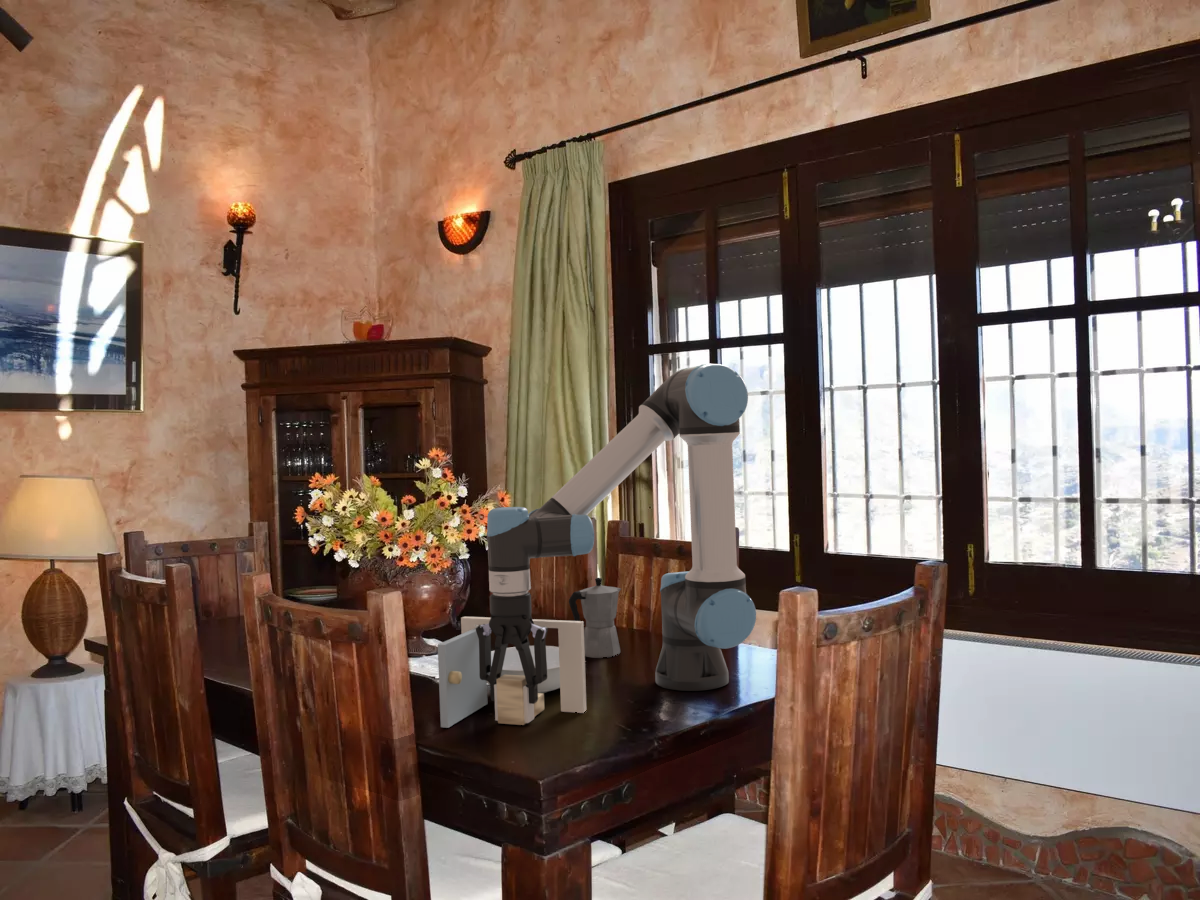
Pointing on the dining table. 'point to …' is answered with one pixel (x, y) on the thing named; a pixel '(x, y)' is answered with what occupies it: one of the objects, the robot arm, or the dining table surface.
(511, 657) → the serving bowl
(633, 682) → the dining table surface
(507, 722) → the toy staircase
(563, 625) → the wall frame
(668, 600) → the robot arm
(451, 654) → the door
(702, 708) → the dining table surface
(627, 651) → the dining table surface
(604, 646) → the coffeepot
